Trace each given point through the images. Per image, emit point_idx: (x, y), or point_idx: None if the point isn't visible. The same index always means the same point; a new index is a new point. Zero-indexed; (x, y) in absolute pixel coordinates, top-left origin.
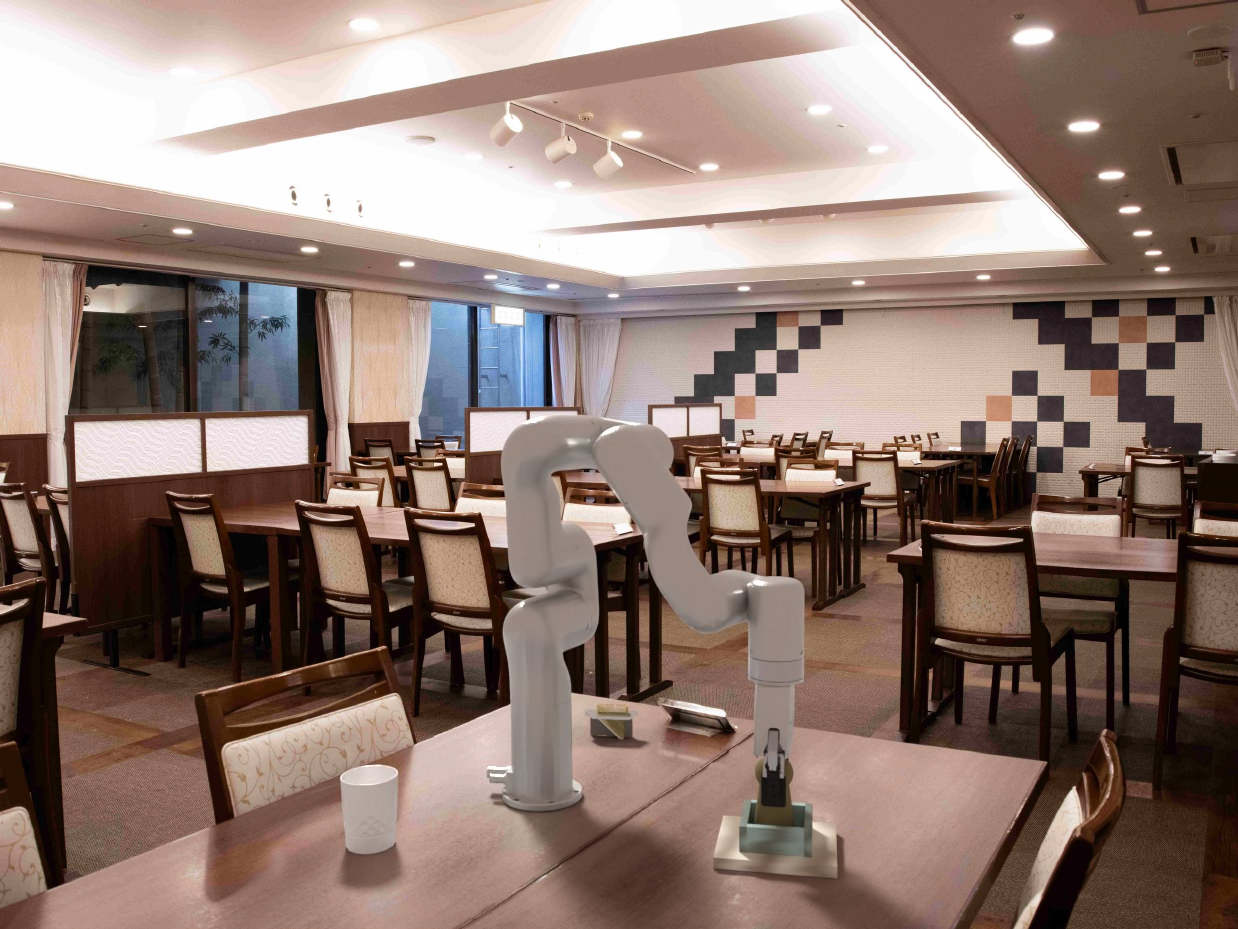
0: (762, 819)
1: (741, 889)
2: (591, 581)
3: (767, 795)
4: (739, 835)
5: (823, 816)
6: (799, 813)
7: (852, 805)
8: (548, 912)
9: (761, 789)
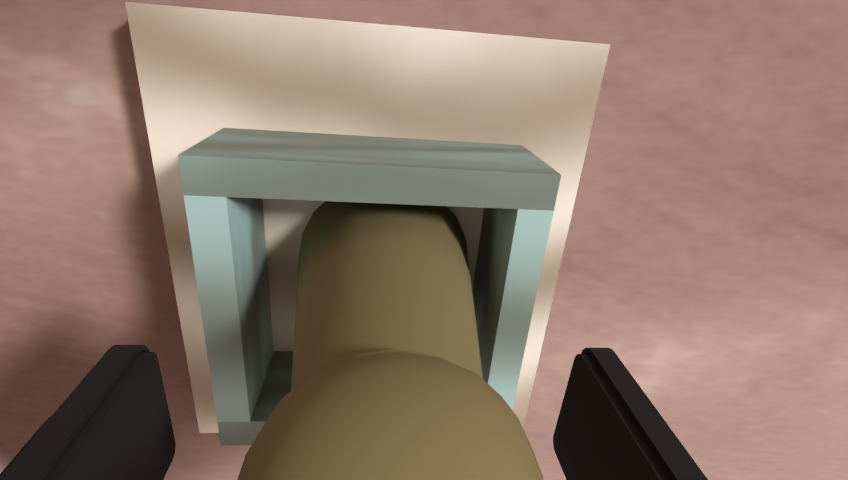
0: (310, 265)
1: (10, 132)
2: None
3: (29, 441)
4: (196, 145)
5: (639, 373)
6: None
7: (704, 436)
8: None
9: (48, 425)
